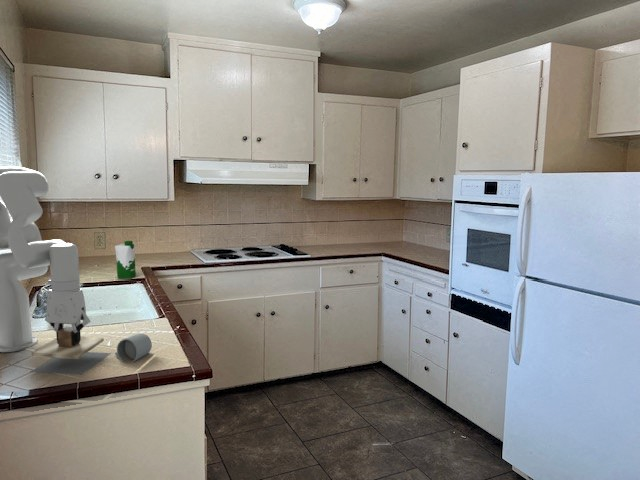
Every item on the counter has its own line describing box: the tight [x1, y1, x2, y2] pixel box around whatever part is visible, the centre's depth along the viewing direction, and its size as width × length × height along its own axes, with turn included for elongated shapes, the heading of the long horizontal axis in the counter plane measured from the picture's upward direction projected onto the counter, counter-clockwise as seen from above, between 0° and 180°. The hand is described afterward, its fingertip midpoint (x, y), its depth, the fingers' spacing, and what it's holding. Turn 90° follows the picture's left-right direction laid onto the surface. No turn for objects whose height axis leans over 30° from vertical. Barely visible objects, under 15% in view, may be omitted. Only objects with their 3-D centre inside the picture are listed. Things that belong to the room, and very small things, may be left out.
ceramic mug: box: [114, 333, 153, 363], centre depth 150 cm, size 11×8×8 cm
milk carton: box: [114, 240, 137, 280], centre depth 259 cm, size 9×9×20 cm
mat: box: [29, 351, 112, 376], centre depth 146 cm, size 16×16×1 cm
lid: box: [31, 326, 104, 359], centre depth 145 cm, size 14×14×6 cm
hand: (68, 342), depth 145 cm, fingers closed on lid, 4 cm apart
